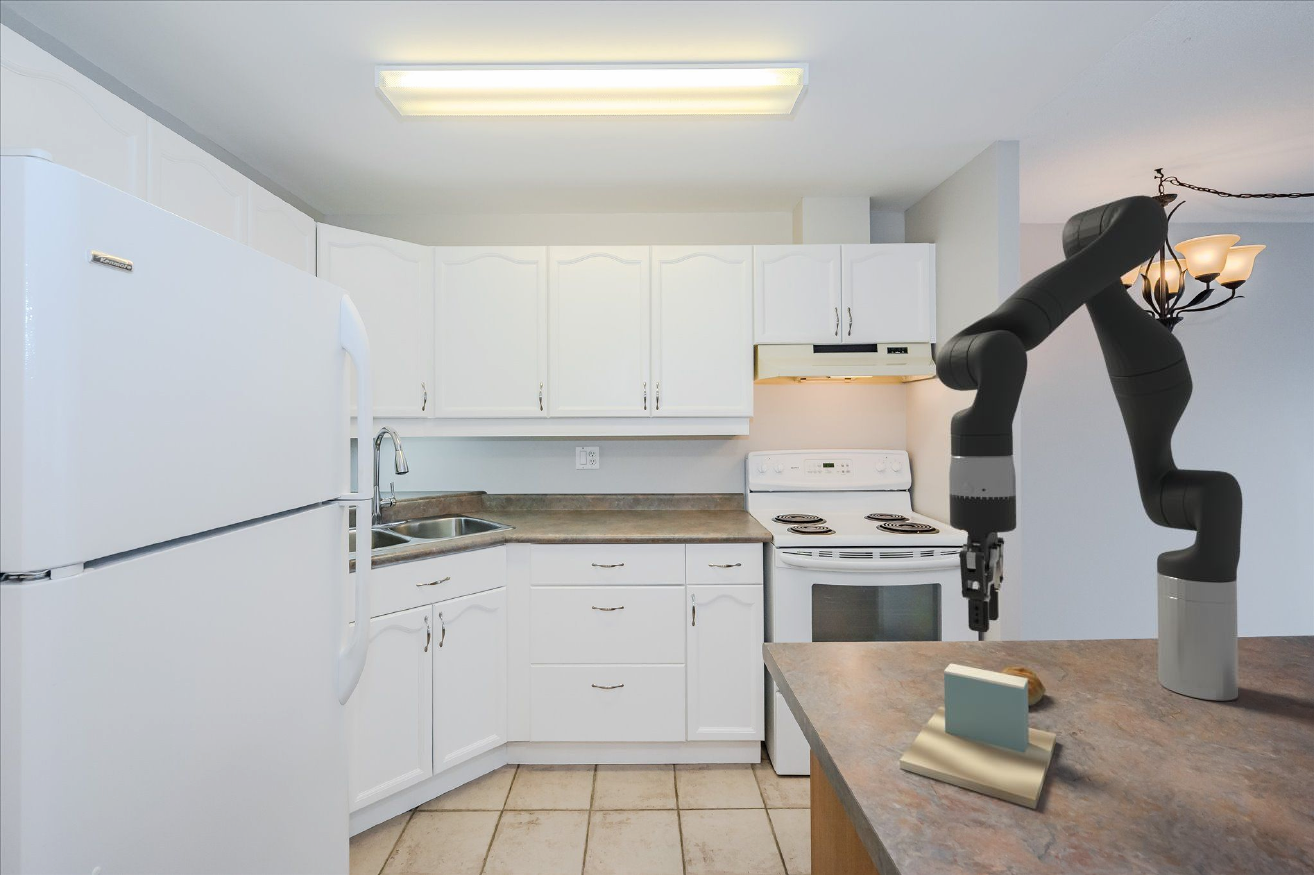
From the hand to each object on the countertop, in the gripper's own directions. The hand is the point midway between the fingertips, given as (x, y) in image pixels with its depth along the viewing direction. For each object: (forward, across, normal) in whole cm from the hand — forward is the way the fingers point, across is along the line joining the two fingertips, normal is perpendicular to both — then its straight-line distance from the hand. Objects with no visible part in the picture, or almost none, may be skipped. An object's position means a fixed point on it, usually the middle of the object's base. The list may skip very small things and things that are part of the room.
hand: (984, 624), depth 81 cm
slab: (+14, 0, 0) cm, 14 cm away
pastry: (+16, +18, -1) cm, 24 cm away
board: (+15, -3, 0) cm, 16 cm away
